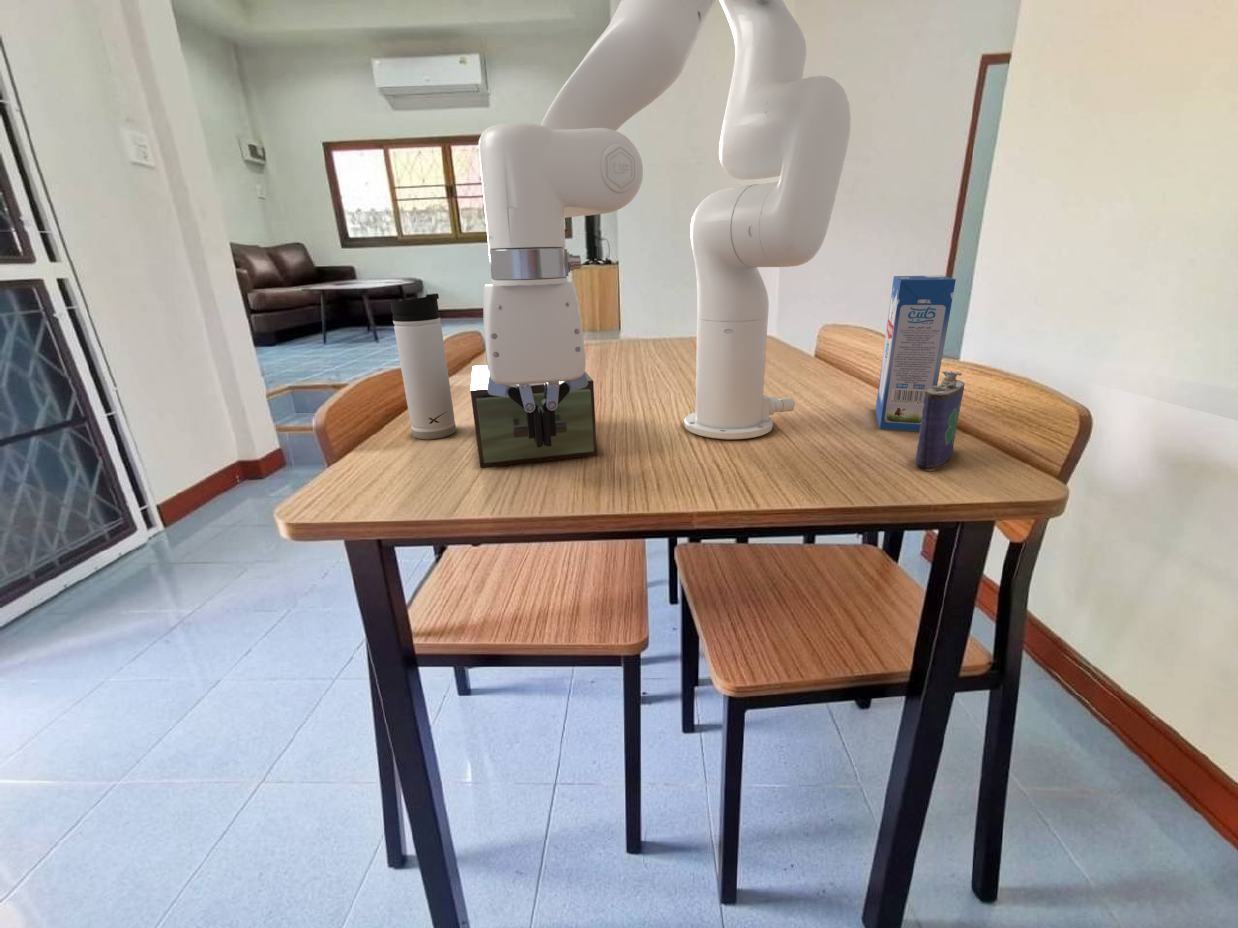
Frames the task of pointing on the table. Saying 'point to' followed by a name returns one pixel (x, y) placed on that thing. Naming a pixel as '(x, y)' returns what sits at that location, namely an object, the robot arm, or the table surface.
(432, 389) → the travel mug
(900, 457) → the table surface
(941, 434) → the flask
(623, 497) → the table surface
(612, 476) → the table surface
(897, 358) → the milk carton
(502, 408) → the drawer
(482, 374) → the cabinet
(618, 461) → the table surface
